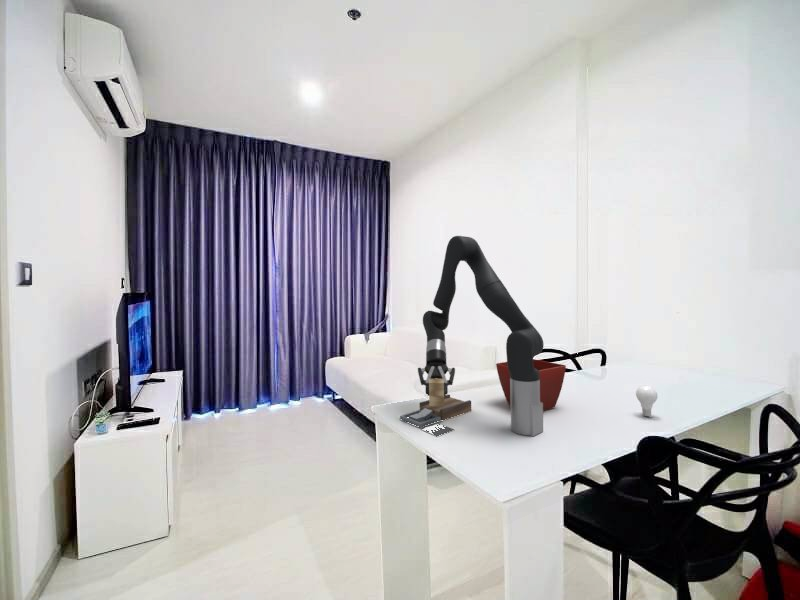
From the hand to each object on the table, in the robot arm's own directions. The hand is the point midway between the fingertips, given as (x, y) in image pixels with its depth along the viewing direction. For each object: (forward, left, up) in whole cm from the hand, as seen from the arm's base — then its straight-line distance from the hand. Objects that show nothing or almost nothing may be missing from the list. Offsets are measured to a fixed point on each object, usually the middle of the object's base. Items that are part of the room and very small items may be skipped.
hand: (436, 394), depth 126 cm
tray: (+7, +1, -11) cm, 13 cm away
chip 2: (+7, -2, -10) cm, 12 cm away
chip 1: (+8, +3, -9) cm, 12 cm away
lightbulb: (-45, -60, -11) cm, 76 cm away
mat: (-3, +3, -11) cm, 12 cm away
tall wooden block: (+1, -1, -3) cm, 3 cm away
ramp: (+7, -12, -11) cm, 18 cm away
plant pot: (-11, -41, -11) cm, 44 cm away
